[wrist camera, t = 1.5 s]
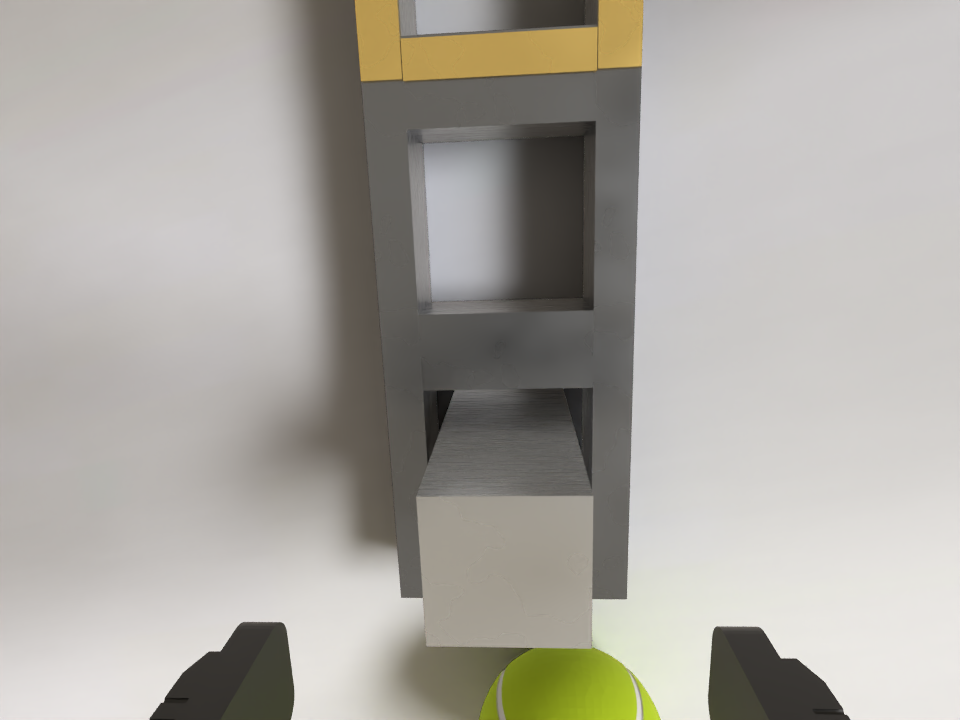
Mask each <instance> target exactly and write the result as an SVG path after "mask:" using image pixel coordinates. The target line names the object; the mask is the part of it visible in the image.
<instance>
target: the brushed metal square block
mask: <svg viewBox="0 0 960 720" xmlns="http://www.w3.org/2000/svg"><path fill="white" fill-rule="evenodd" d="M416 502H417V516H418V531H419V546H420V561H421V576H422V591H423V606H424V620H425V635H426V646H433V647H506V648H580V649H592V571H593V493H592V489H591V486H590V482H589V478H588V475H587V471H586V468H585V464H584V461H583V457H582V454H581V450H580V446H579V443H578V439H577V436H576V432H575V429H574V425H573V422H572V418H571V415H570V411H569V407H568V404H567V400H566V397H565V393H564V390H563V388H548V389H490V390H455V391H454V393H453V396H452V399H451V402H450V404H449V407H448V410H447V413H446V416H445V418H444V421H443V424H442V427H441V429H440V432H439V435H438V438H437V440H436V443H435V446H434V449H433V451H432V454H431V457H430V460H429V462H428V465H427V468H426V471H425V474H424V476H423V479H422V482H421V485H420V487H419V490H418V493H417V496H416Z"/></svg>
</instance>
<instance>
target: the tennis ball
mask: <svg viewBox="0 0 960 720" xmlns="http://www.w3.org/2000/svg"><path fill="white" fill-rule="evenodd" d="M479 720H661V719H660V717H659V714H658V712H657V710H656V707H655V705H654V703H653V702H652V700H651V698H650V696H649V694H648V693H647V691H646V690H645V688H644V687H643V685H642V684H641V683H640V681H639V680H638V679H637V678H636V677H635V675H634V674H633V673H632V672H631V671H630V670H629V669H627V668H625V667H624V665H623V664H622V663H620V662H619V661H618V660H616V659H615V658H613V657H612V656H610V655H608V654H606V653H604V652H602V651H600V650H597V649H595V648H592V649H580V648H534V649H532V650H529V651H527V652H525V653H524V654H522V655H520V656H519V657H517V658H516V659H515V660H513V661H512V662H511V663H510V664H508V666H507V667H506V669H504V670H503V671H502V672H501V673H500V674H499V675H498V677H497V678H496V680H495V681H494V683H493V684H492V686H491V688H490V690H489V692H488V694H487V696H486V698H485V701H484V703H483V706H482V710H481V713H480V717H479Z"/></svg>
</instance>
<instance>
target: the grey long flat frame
mask: <svg viewBox="0 0 960 720" xmlns="http://www.w3.org/2000/svg"><path fill="white" fill-rule="evenodd" d="M355 12H356V25H357V37H358V50H359V63H360V76H361V87H362V100H363V113H364V125H365V138H366V151H367V164H368V177H369V190H370V202H371V215H372V228H373V241H374V254H375V267H376V280H377V292H378V305H379V318H380V331H381V344H382V357H383V370H384V382H385V395H386V408H387V421H388V434H389V447H390V460H391V472H392V485H393V498H394V511H395V524H396V537H397V550H398V562H399V575H400V588H401V598H423V591H422V576H421V561H420V546H419V531H418V516H417V502H416V496H417V493H418V490H419V487H420V485H421V482H422V479H423V476H424V474H425V471H426V468H427V465H428V462H429V460H430V457H431V454H432V451H433V449H434V446H435V443H436V440H437V438H438V435H439V424H438V406H437V390H490V389H548V388H582V457H583V461H584V464H585V468H586V471H587V475H588V478H589V482H590V486H591V489H592V493H593V571H592V599H627V569H628V533H629V497H630V462H631V426H632V390H633V354H634V319H635V283H636V247H637V211H638V176H639V140H640V104H641V69H642V33H643V0H585V25H578V26H561V27H544V28H527V29H510V30H493V31H476V32H459V33H442V34H425V35H417V29H416V11H415V0H355ZM566 136H584V193H583V298H553V299H517V300H480V301H444V302H432V298H431V280H430V262H429V245H428V227H427V209H426V191H425V173H424V155H423V143H436V142H458V141H479V140H501V139H523V138H544V137H566Z"/></svg>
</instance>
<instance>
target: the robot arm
mask: <svg viewBox="0 0 960 720" xmlns="http://www.w3.org/2000/svg"><path fill="white" fill-rule="evenodd" d="M708 704H709V714H710V719H711V720H850V719H849V717H848V716H847V715H845V714H844V712H843V708H842V707H841V705H840V704H839V702H838V701H837V700H836V698H835V697H834V695H833V694H832V692H831V691H830V689H829V688H828V686H827V685H826V683H825V682H824V681H823V680H822V679H820V678H819V677H818V676H817V675H816V674H814V673H813V672H812V671H811V670H809V669H808V668H807V667H806V666H805V665H803V664H802V663H801V662H800V661H799V660H797V659H781V658H780V657H779V655H778V654H777V652H776V650H775V649H774V647H773V645H772V644H771V642H770V641H769V639H768V637H767V636H766V634H765V633H764V631H763V630H762V629H761V628H759V627H715V629H714V631H713V636H712V650H711V664H710V678H709V692H708ZM293 705H294V684H293V676H292V668H291V661H290V653H289V645H288V637H287V631H286V627H285V625H284V624H283V623H281V622H243V623H241V624H240V625H239V626H238V627H237V628H236V630H235V631H234V633H233V634H232V636H231V637H230V638H229V640H228V641H227V643H226V644H225V646H224V647H223V649H222V650H221V652H208V653H207V654H206V655H204V656H203V657H202V658H201V659H199V660H198V661H197V662H196V663H195V664H193V665H192V666H191V667H190V668H188V669H187V670H186V671H185V672H183V674H182V675H181V676H180V678H179V679H178V680H177V682H176V683H175V684H174V686H173V687H172V689H171V690H170V691H169V693H168V694H167V695H166V697H165V701H164V703H161V704H160V705H159V706H158V708H157V709H156V711H155V712H154V713H153V715H152V716H151V717H150V720H291V716H292V712H293Z"/></svg>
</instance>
